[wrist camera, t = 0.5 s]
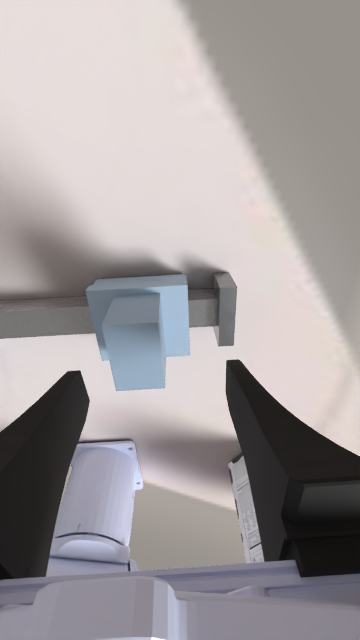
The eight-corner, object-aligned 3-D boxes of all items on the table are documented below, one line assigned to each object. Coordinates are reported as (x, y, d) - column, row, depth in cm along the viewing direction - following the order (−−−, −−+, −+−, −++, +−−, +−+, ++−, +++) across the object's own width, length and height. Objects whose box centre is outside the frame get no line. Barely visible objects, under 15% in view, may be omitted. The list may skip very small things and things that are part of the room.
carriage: (187, 334, 24) (194, 391, 18) (109, 339, 24) (88, 398, 18) (185, 270, 21) (191, 312, 15) (95, 275, 21) (65, 319, 15)
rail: (226, 326, 24) (233, 345, 21) (-12, 340, 24) (-34, 361, 21) (228, 272, 22) (237, 287, 19) (-37, 288, 21) (-65, 304, 19)
